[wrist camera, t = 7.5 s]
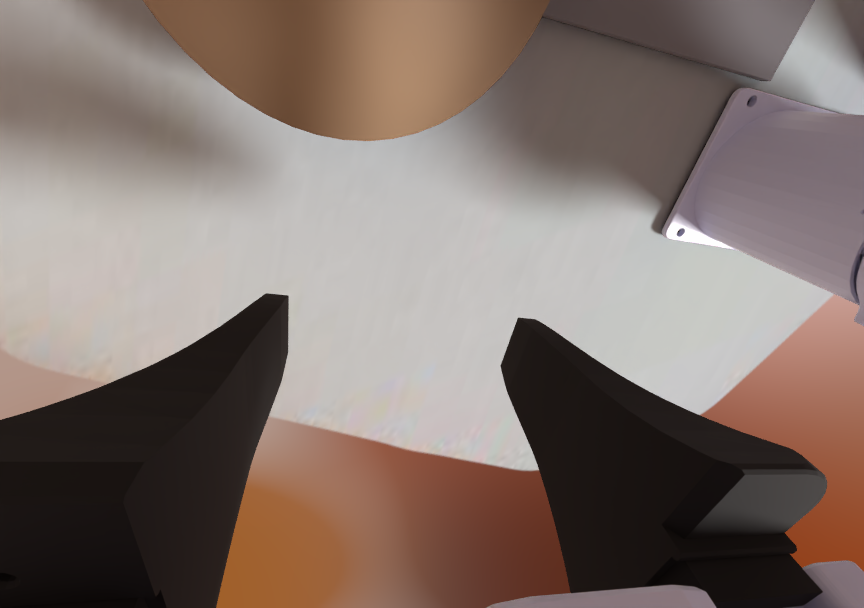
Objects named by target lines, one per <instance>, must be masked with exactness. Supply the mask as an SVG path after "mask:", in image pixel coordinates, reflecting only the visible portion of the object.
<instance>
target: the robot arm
mask: <svg viewBox="0 0 864 608" xmlns="http://www.w3.org/2000/svg"><path fill="white" fill-rule="evenodd" d="M749 98H750V102H749V103H748V105H747V102H748V99H749ZM679 229H680V231H679V233H677V231H678V230H679ZM662 235H663V236H664V237H666V238H668V239H672V240H678V241H685V242H691V243H697V244H703V245H709V246H715V247H722V248H728V249H734V250H739V251H741V252H743V253H745V254H747V255H750V256H752V257H754V258H756V259H758V260H761V261H763V262H765V263H767V264H769V265H772V266H774V267H776V268H778V269H780V270H783V271H785V272H787V273H789V274H791V275H794V276H796V277H798V278H800V279H802V280H805V281H807V282H809V283H811V284H813V285H816V286H818V287H820V288H822V289H825V290H827V291H829V292H831V293H833V294H836V295H838V296H840V297H842V298H845V299H847V300H849V301H851V302H853V303H855V304H858V305H860V306H859V310H858V313H857V315H856V317H855V319H854V321H855V322H857V323H859V324H861V325H863V326H864V115H852V114H839V113H836V112H832V111H829V110H825V109H822V108H818V107H815V106H811V105H808V104H804V103H801V102H797V101H794V100H790V99H787V98H783V97H780V96H776V95H773V94H769V93H766V92H762V91H759V90H755V89H752V88H739V89H737V90H736V91H735V92H734V93H733V94H732V96H731V97H730V99H729V101H728V103H727V105H726V107H725V109H724V111H723V113H722V115H721V117H720V119H719V120H718V122H717V124H716V126H715V128H714V130H713V132H712V134H711V136H710V138H709V140H708V142H707V144H706V146H705V148H704V150H703V152H702V153H701V155H700V157H699V159H698V161H697V163H696V165H695V167H694V169H693V171H692V173H691V175H690V177H689V179H688V181H687V183H686V184H685V186H684V188H683V190H682V192H681V194H680V196H679V198H678V200H677V202H676V204H675V206H674V208H673V210H672V212H671V214H670V215H669V217H668V219H667V221H666V223H665V225H664V227H663V229H662ZM287 355H288V296H287V295H277V294H265V295H263V296H262V297H260V298H259V299H258V300H256V301H255V302H253V303H252V304H251V305H249V306H248V307H247V308H245V309H244V310H243V311H241V312H240V313H239V314H237V315H236V316H234V317H233V318H232V319H230V320H229V321H227V322H226V323H224V324H223V325H222V326H220V327H219V328H217V329H215V330H214V331H212V332H211V333H209V334H207V335H206V336H204V337H203V338H201V339H199V340H198V341H196V342H195V343H193V344H191V345H190V346H188V347H186V348H184V349H182V350H181V351H179V352H177V353H175V354H173V355H171V356H169V357H167V358H165V359H163V360H161V361H159V362H157V363H155V364H153V365H151V366H149V367H147V368H144V369H142V370H140V371H137V372H135V373H133V374H130V375H128V376H125V377H123V378H121V379H118V380H116V381H114V382H111V383H109V384H107V385H104V386H102V387H99V388H97V389H94V390H91V391H89V392H86V393H83V394H80V395H77V396H75V397H72V398H69V399H66V400H63V401H60V402H57V403H54V404H51V405H48V406H45V407H42V408H39V409H36V410H33V411H30V412H26V413H23V414H20V415H17V416H13V417H9V418H6V419H2V420H0V608H216V605H217V601H218V596H219V592H220V587H221V583H222V579H223V575H224V570H225V566H226V562H227V558H228V553H229V549H230V545H231V541H232V537H233V533H234V528H235V524H236V521H237V516H238V513H239V508H240V504H241V501H242V497H243V493H244V489H245V485H246V481H247V478H248V473H249V470H250V466H251V463H252V460H253V457H254V453H255V450H256V447H257V445H258V442H259V439H260V437H261V434H262V432H263V429H264V426H265V424H266V421H267V418H268V416H269V413H270V411H271V408H272V405H273V403H274V400H275V397H276V395H277V392H278V389H279V386H280V384H281V381H282V376H283V372H284V368H285V364H286V359H287ZM501 370H502V374H503V378H504V382H505V385H506V389H507V392H508V395H509V397H510V400H511V402H512V405H513V407H514V409H515V412H516V414H517V416H518V419H519V421H520V423H521V426H522V428H523V430H524V433H525V435H526V437H527V440H528V442H529V444H530V446H531V449H532V451H533V454H534V456H535V459H536V462H537V464H538V467H539V471H540V474H541V477H542V480H543V483H544V487H545V490H546V493H547V497H548V500H549V504H550V507H551V511H552V515H553V518H554V522H555V526H556V530H557V533H558V538H559V542H560V546H561V550H562V555H563V559H564V563H565V567H566V572H567V577H568V582H569V586H570V592H571V593H569V594H557V595H546V596H534V597H527V598H522V599H517V600H512V601H507V602H502V603H497V604H493V605H491V606H489V607H487V608H864V572H863V571H862V570H861V569H860V568H859V567H858V566H857V565H856V564H855V563H854V562H851V561H835V562H822V563H815V564H810V565H808V566H805V567H803V568H801V566H800V565H799V564H798V563H797V562H796V561H795V560H794V559H793V557H792V556H791V555H790V554H793V553H794V552H796V551H797V548H796V545H795V544H794V543H793V542H792V541H791V540H790V539H789V538H788V536H787V535H786V534H785V532H786V531H787V530H788V529H789V528H791V527H792V526H793V525H794V524H795V523H796V522H798V521H799V520H800V519H801V518H802V517H803V516H804V515H806V514H807V513H808V512H809V511H810V510H811V509H813V508H814V507H815V506H816V505H817V504H818V503H819V501H820V500H821V499H822V497H823V496H824V494H825V492H826V488H827V480H826V477H825V475H824V474H823V473H822V472H820V471H819V470H818V469H817V468H816V467H815V466H813V465H812V464H811V463H810V462H809V461H808V460H807V459H805V458H804V457H803V456H802V455H800V454H799V453H797V452H796V451H794V450H792V449H790V448H787V447H784V446H781V445H778V444H775V443H772V442H769V441H767V440H763V439H761V438H757V437H755V436H752V435H749V434H746V433H743V432H740V431H737V430H735V429H732V428H730V427H727V426H724V425H722V424H719V423H717V422H714V421H712V420H709V419H707V418H704V417H702V416H700V415H697V414H695V413H693V412H690V411H688V410H686V409H684V408H682V407H680V406H677V405H675V404H673V403H671V402H669V401H667V400H665V399H663V398H661V397H659V396H657V395H655V394H653V393H651V392H649V391H647V390H645V389H643V388H642V387H640V386H638V385H636V384H634V383H633V382H631V381H629V380H627V379H626V378H624V377H622V376H620V375H619V374H617V373H616V372H614V371H612V370H611V369H609V368H608V367H606V366H605V365H603V364H601V363H600V362H598V361H597V360H595V359H594V358H592V357H591V356H589V355H588V354H586V353H585V352H584V351H582V350H581V349H579V348H578V347H576V346H575V345H573V344H572V343H571V342H569V341H568V340H566V339H565V338H563V337H562V336H561V335H559V334H558V333H556V332H555V331H553V330H552V329H550V328H549V327H547V326H546V325H544V324H543V323H541V322H539V321H537V320H535V319H526V318H518V320H517V322H516V325H515V328H514V331H513V333H512V336H511V339H510V342H509V344H508V347H507V350H506V353H505V355H504V358H503V361H502V364H501Z"/></svg>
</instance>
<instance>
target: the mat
mask: <svg viewBox="0 0 864 608" xmlns="http://www.w3.org/2000/svg"><path fill="white" fill-rule="evenodd" d="M814 1H815V0H550V2H549V4H548V6H547V8H546V10H545V12H544V14H543V16H542V17H546V18H549V19H553V20H556V21H559V22H563V23H566V24H570V25H573V26H576V27H580V28H583V29H587V30H590V31H593V32H597V33H600V34H603V35H607V36H610V37H614V38H617V39H620V40H624V41H627V42H631V43H634V44H637V45H641V46H644V47H648V48H651V49H654V50H658V51H661V52H665V53H668V54H671V55H675V56H678V57H682V58H685V59H688V60H692V61H695V62H699V63H702V64H705V65H709V66H712V67H716V68H719V69H722V70H726V71H729V72H733V73H736V74H739V75H743V76H746V77H750V78H753V79H756V80H760V81H771V79H772V77H773V75H774V74H775V72H776V70H777V68H778V66H779V65H780V63H781V61H782V59H783V57H784V55H785V54H786V52H787V50H788V48H789V46H790V45H791V43H792V41H793V39H794V37H795V36H796V34H797V32H798V30H799V28H800V26H801V25H802V23H803V21H804V19H805V17H806V16H807V14H808V12H809V10H810V8H811V7H812V5H813V3H814Z"/></svg>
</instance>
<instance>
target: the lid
mask: <svg viewBox="0 0 864 608" xmlns="http://www.w3.org/2000/svg"><path fill="white" fill-rule="evenodd" d="M143 1H144V2H145V4H146V5H147V7H148V8H149V9H150V11H151V12H152V13H153V15H154V16H155V18H156V19H157V20H158V22H159V23H160V24H161V25H162V26H163V27H164V28H165V30H166V31H167V32H168V33H169V34H170V35H171V36H172V38H173V39H174V40H175V41H176V42H177V43H178V44H179V46H180V47H181V48H182V49H183V50H184V51H185V52H186V53H187V54H188V55H189V56H190V57H191V58H192V59H193V60H194V61H195V62H196V63H197V64H198V65H199V66H200V67H202V68H203V69H204V70H205V71H206V72H207V73H208V74H209V75H210V76H211V77H212V78H214V79H215V80H216V81H217V82H219V83H220V84H221V85H223V86H224V87H225V88H227V89H228V90H229V91H230V92H232V93H233V94H234V95H236V96H237V97H238V98H240V99H241V100H243V101H245V102H246V103H248V104H250V105H251V106H253V107H254V108H256V109H258V110H259V111H261V112H263V113H264V114H266V115H268V116H270V117H273V118H275V119H277V120H279V121H281V122H283V123H285V124H288V125H290V126H292V127H295V128H298V129H301V130H304V131H307V132H310V133H313V134H316V135H321V136H326V137H332V138H337V139H342V140H359V141H374V140H384V139H394V138H398V137H402V136H406V135H411V134H415V133H418V132H420V131H423V130H426V129H428V128H431V127H433V126H436V125H438V124H440V123H442V122H444V121H446V120H447V119H449V118H451V117H453V116H454V115H456V114H458V113H460V112H461V111H463V110H464V109H465V108H467V107H468V106H469V105H471V104H472V103H473V102H475V101H476V100H477V99H478V98H480V97H481V96H482V95H483V94H484V93H485V92H486V91H487V90H488V89H489V88H490V87H491V86H493V85H494V84H495V83H496V82H497V81H498V80H499V79H500V78H501V77H502V75H503V74H504V73H505V72H506V70H507V69H508V68H509V67H510V65H511V64H512V63H513V62H514V60H515V59H516V58H517V57H518V56H519V54H520V53H521V51H522V50H523V48H524V46H525V45H526V43H527V42H528V40H529V39H530V37H531V35H532V34H533V32H534V31H535V29H536V28H537V26H538V24H539V22H540V20H541V18H542V16H543V14H544V12H545V10H546V8H547V6H548V4H549V2H550V0H143Z"/></svg>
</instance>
